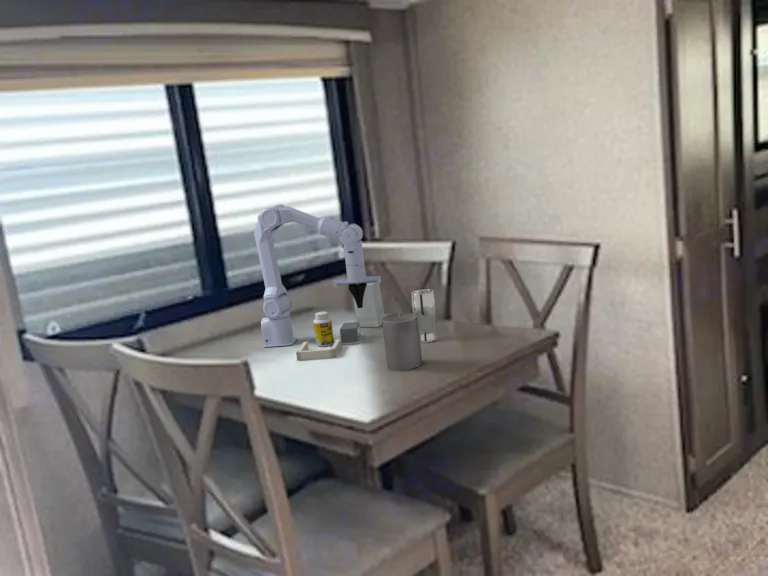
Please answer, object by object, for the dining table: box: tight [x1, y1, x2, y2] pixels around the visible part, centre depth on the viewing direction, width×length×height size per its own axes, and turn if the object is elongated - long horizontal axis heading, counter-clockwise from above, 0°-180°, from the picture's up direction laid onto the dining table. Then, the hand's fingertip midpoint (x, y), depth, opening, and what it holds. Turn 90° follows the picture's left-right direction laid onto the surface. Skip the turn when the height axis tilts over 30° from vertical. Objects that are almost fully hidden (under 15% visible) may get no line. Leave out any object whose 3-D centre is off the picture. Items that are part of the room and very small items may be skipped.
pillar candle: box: [381, 311, 423, 371], centre depth 209 cm, size 10×10×15 cm
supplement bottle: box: [313, 311, 335, 348], centre depth 240 cm, size 6×6×10 cm
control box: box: [339, 321, 364, 347], centre depth 241 cm, size 6×10×5 cm, turn 174°
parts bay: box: [295, 338, 342, 361], centre depth 231 cm, size 11×11×2 cm
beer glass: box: [410, 288, 438, 344], centre depth 231 cm, size 7×7×15 cm
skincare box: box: [352, 283, 386, 328], centre depth 257 cm, size 8×6×15 cm
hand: (360, 307), depth 239 cm, fingers closed
